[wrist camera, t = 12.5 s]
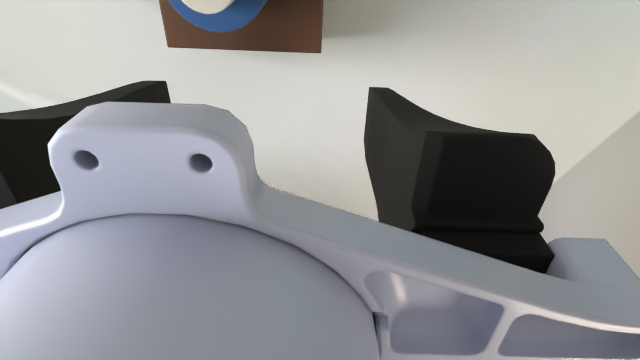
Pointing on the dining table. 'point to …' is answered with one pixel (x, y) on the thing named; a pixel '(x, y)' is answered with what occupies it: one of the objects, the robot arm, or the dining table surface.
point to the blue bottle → (218, 13)
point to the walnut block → (254, 29)
